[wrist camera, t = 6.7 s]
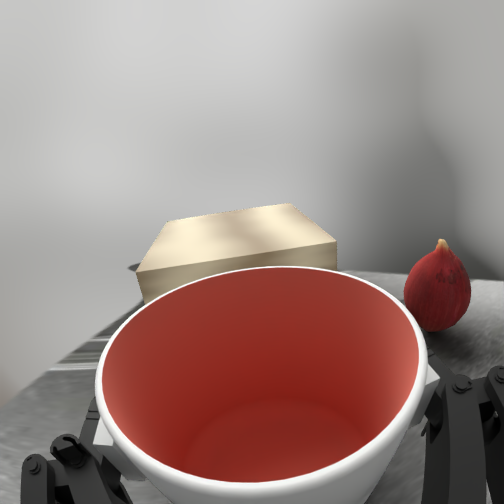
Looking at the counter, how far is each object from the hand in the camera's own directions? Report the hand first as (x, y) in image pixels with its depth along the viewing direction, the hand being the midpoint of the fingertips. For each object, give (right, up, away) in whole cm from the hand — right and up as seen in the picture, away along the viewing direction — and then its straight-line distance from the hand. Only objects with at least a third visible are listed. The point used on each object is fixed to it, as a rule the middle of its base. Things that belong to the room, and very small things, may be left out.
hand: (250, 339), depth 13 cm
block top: (-1, +1, +9) cm, 9 cm away
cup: (+1, -8, -2) cm, 8 cm away
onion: (+15, -3, +7) cm, 17 cm away
